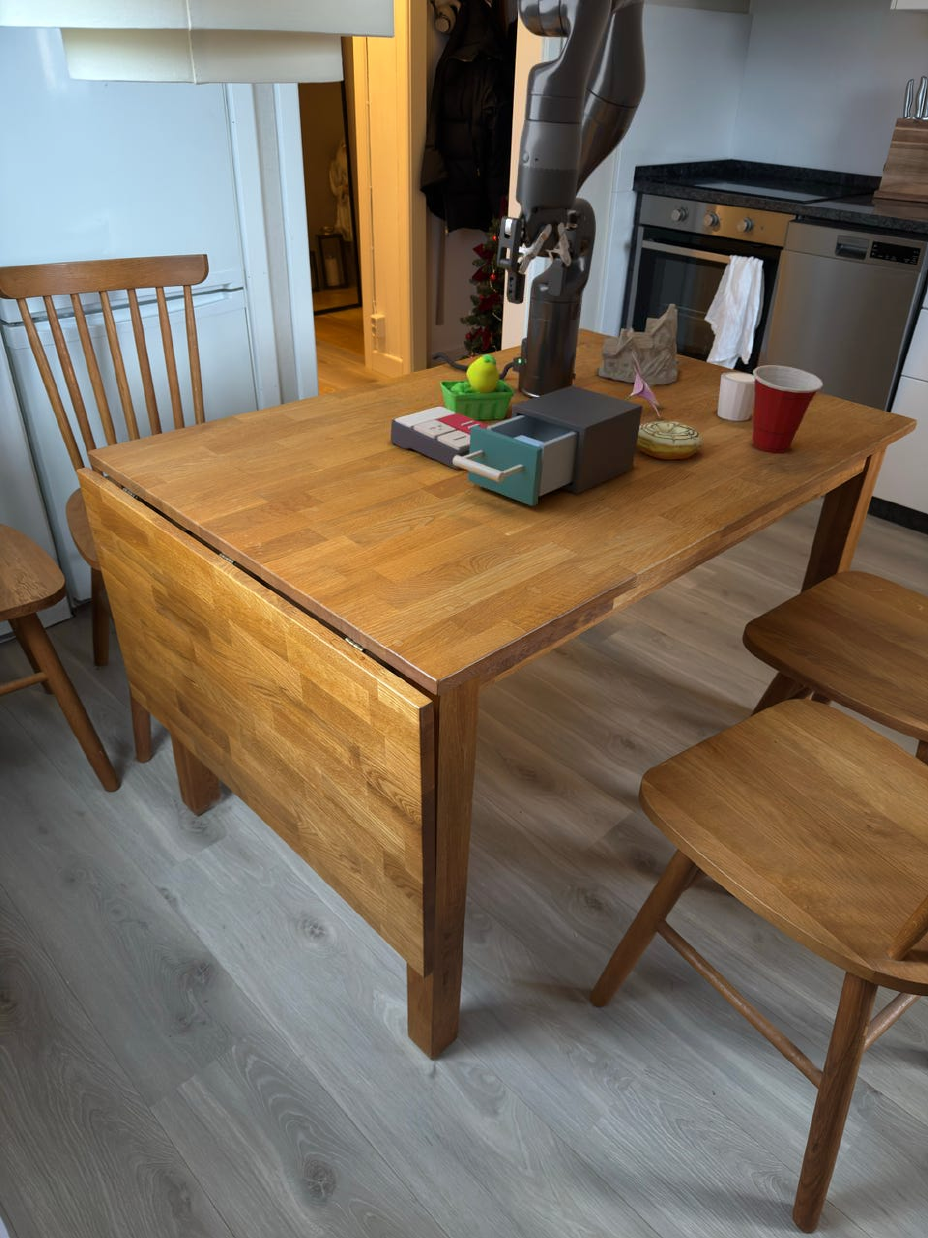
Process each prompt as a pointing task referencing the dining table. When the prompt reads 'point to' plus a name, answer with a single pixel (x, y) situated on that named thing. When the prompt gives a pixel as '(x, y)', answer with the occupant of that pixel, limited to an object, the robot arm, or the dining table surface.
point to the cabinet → (590, 431)
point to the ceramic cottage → (644, 352)
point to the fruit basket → (479, 392)
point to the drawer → (521, 458)
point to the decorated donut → (668, 440)
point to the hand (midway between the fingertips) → (535, 298)
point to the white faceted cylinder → (736, 396)
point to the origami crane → (643, 389)
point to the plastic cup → (780, 405)
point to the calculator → (435, 433)
